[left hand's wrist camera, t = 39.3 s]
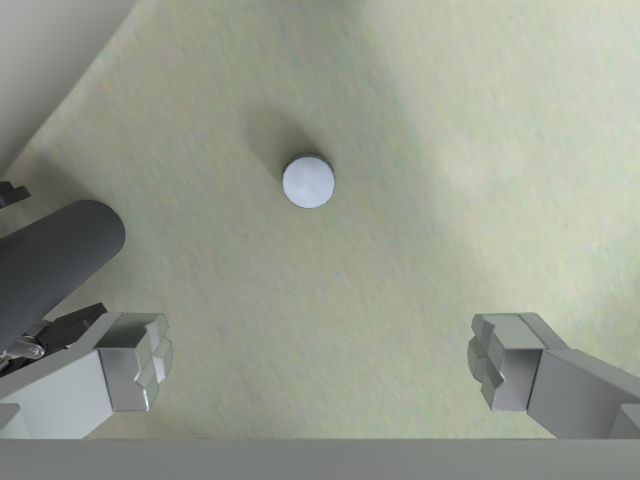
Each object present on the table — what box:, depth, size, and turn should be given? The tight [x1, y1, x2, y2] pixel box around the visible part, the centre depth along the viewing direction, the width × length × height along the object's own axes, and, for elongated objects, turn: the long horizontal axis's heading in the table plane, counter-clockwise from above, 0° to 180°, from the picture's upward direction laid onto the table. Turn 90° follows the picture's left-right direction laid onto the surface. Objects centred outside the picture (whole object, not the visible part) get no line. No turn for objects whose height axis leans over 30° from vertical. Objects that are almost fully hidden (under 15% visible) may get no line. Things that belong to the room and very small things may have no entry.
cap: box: [282, 153, 335, 208], centre depth 29 cm, size 4×4×2 cm
